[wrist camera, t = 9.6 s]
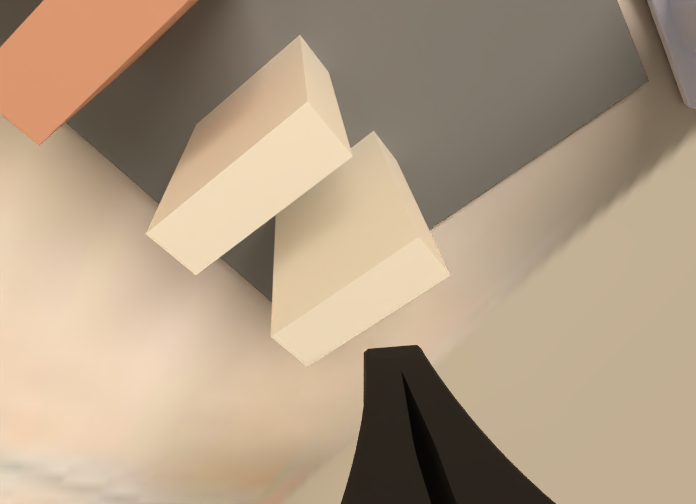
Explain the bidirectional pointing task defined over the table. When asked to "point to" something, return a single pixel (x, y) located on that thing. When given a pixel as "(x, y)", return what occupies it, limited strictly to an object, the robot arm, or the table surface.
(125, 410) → the table surface
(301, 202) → the domino
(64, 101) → the terracotta domino
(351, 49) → the mat
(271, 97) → the domino
